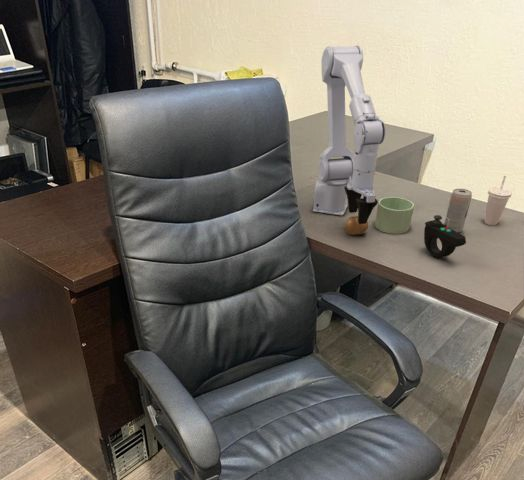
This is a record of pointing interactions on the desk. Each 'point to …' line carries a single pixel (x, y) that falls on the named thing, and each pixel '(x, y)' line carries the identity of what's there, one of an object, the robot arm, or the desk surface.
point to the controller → (441, 238)
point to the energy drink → (458, 209)
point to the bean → (355, 226)
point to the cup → (394, 215)
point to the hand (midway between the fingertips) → (357, 217)
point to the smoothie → (496, 203)
